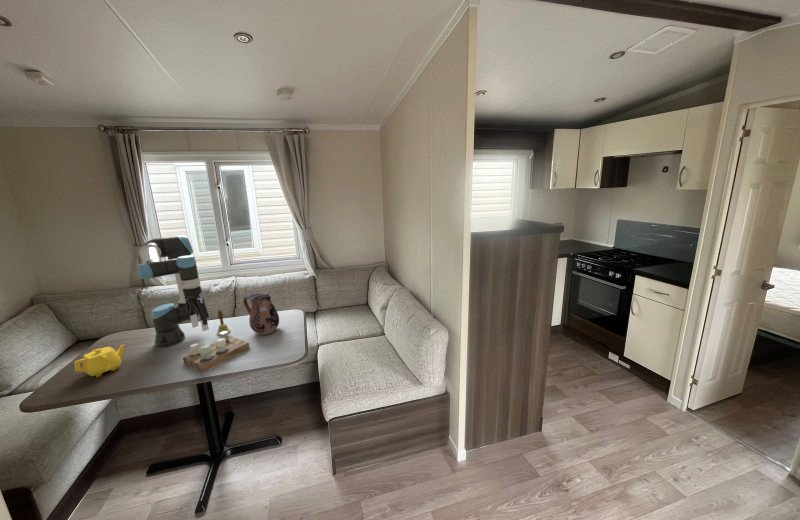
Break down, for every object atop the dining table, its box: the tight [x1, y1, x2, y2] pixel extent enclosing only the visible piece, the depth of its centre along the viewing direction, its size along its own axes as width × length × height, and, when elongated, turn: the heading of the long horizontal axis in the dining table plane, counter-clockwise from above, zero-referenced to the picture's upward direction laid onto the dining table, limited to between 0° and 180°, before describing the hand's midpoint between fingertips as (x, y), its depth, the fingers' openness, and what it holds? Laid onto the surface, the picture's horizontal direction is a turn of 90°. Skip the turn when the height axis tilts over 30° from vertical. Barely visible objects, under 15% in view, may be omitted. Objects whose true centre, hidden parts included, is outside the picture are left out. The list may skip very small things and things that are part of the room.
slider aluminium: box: [219, 331, 229, 341], centre depth 175 cm, size 3×3×5 cm
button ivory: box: [214, 337, 227, 349], centre depth 162 cm, size 5×5×4 cm
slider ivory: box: [189, 342, 200, 355], centre depth 162 cm, size 3×3×5 cm
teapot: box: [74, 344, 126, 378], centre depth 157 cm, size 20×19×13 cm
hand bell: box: [216, 309, 232, 337], centre depth 193 cm, size 8×8×16 cm
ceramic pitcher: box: [242, 291, 280, 336], centre depth 191 cm, size 18×21×25 cm
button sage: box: [199, 344, 212, 357], centre depth 156 cm, size 5×5×4 cm
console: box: [182, 335, 250, 373], centre depth 167 cm, size 19×26×4 cm
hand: (200, 328), depth 153 cm, fingers open, 9 cm apart
